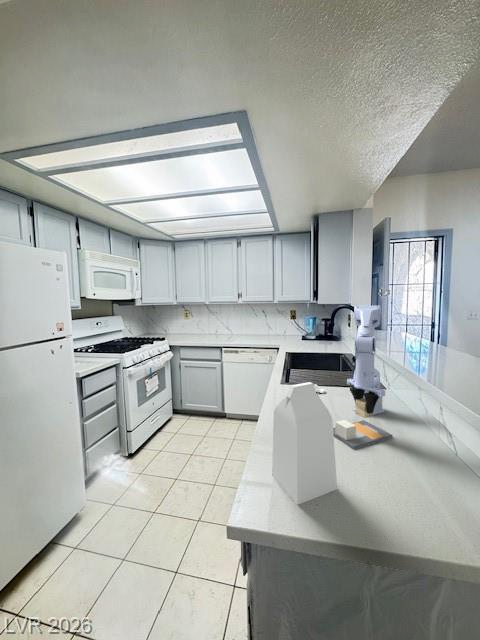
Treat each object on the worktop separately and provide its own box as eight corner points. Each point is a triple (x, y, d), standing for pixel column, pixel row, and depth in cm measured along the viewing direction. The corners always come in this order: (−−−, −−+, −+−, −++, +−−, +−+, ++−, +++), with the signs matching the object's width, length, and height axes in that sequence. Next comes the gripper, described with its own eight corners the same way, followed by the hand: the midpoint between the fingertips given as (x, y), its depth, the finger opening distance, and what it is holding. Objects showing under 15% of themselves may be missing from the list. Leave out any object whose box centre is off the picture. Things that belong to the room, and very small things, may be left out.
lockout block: (364, 411, 95) (364, 397, 95) (373, 415, 92) (373, 401, 91) (355, 413, 94) (355, 399, 94) (364, 418, 90) (364, 403, 90)
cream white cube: (344, 430, 93) (344, 419, 93) (355, 437, 89) (355, 425, 88) (335, 433, 92) (335, 421, 91) (346, 440, 87) (346, 428, 87)
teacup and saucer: (326, 392, 135) (326, 384, 135) (319, 397, 129) (319, 389, 129) (310, 389, 141) (310, 381, 141) (303, 393, 135) (303, 385, 135)
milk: (297, 504, 62) (295, 395, 60) (272, 475, 72) (269, 381, 71) (337, 489, 67) (336, 387, 65) (308, 463, 77) (307, 375, 75)
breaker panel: (363, 422, 101) (363, 420, 101) (392, 437, 90) (392, 434, 90) (327, 432, 95) (327, 429, 95) (353, 449, 84) (353, 446, 84)
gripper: (340, 368, 97) (340, 404, 98) (373, 378, 83) (373, 421, 85) (355, 366, 100) (355, 401, 101) (390, 375, 86) (389, 416, 87)
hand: (364, 410), depth 93 cm, fingers closed on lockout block, 4 cm apart
